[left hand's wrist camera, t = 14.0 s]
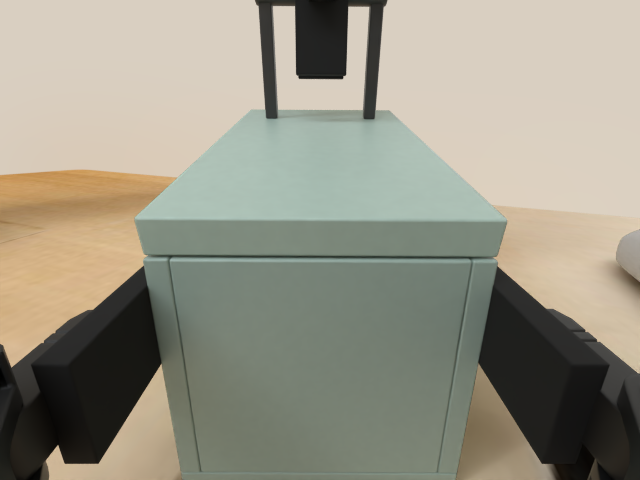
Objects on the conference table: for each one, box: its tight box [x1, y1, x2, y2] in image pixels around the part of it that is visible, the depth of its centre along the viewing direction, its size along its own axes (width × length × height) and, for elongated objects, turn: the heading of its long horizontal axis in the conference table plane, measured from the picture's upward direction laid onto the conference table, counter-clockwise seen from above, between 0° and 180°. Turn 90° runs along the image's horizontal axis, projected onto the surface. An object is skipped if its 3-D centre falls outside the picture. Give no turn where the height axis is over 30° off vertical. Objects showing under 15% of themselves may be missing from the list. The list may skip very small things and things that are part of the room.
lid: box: [135, 0, 507, 257], centre depth 16 cm, size 18×10×9 cm, turn 0°
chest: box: [143, 255, 498, 480], centre depth 20 cm, size 17×10×9 cm, turn 0°
